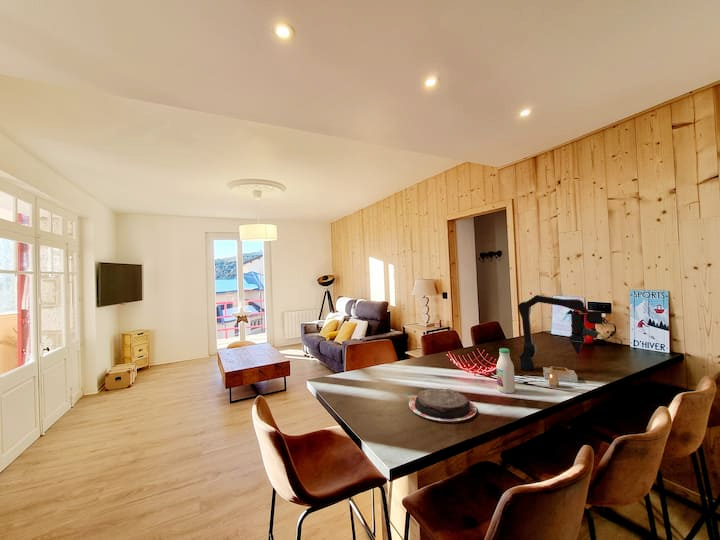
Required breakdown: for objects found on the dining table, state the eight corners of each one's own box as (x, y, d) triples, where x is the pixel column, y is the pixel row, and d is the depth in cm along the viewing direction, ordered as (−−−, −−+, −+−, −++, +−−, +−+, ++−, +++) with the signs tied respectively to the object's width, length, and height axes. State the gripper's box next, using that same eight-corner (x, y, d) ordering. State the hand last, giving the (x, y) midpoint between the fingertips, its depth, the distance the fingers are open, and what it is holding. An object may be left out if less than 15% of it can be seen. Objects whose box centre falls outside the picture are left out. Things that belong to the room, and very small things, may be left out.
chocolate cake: (439, 390, 143) (438, 377, 143) (491, 411, 119) (490, 395, 119) (395, 405, 128) (395, 390, 128) (445, 432, 104) (444, 414, 104)
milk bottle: (514, 388, 141) (512, 347, 142) (515, 394, 134) (513, 351, 135) (497, 386, 145) (495, 346, 145) (497, 392, 138) (495, 350, 138)
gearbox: (545, 379, 153) (544, 370, 153) (543, 373, 162) (542, 365, 162) (577, 383, 146) (577, 373, 147) (573, 377, 155) (573, 368, 155)
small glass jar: (549, 386, 143) (549, 374, 143) (548, 384, 146) (548, 372, 147) (559, 388, 141) (558, 375, 141) (558, 385, 144) (557, 373, 145)
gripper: (596, 326, 143) (597, 358, 142) (598, 322, 157) (599, 350, 156) (568, 324, 150) (569, 354, 150) (572, 320, 164) (573, 347, 164)
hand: (578, 351), depth 155 cm, fingers open, 9 cm apart
